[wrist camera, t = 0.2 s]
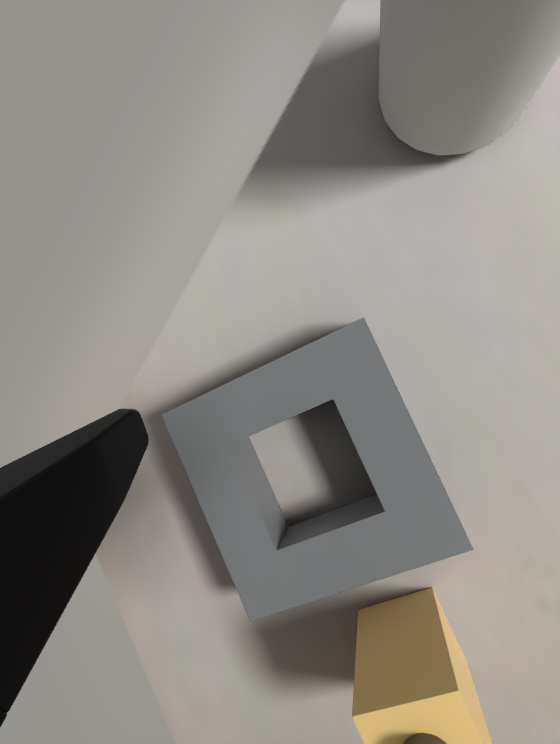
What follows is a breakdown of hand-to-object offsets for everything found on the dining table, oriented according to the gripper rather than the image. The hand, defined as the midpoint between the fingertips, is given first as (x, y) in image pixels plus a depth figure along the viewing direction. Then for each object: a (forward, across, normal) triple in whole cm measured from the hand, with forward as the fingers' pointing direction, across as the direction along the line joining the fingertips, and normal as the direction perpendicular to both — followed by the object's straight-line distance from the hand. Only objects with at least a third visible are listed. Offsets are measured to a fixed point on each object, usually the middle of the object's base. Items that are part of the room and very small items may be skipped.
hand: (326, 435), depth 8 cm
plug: (+6, -3, +19) cm, 20 cm away
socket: (+10, +3, +11) cm, 15 cm away
